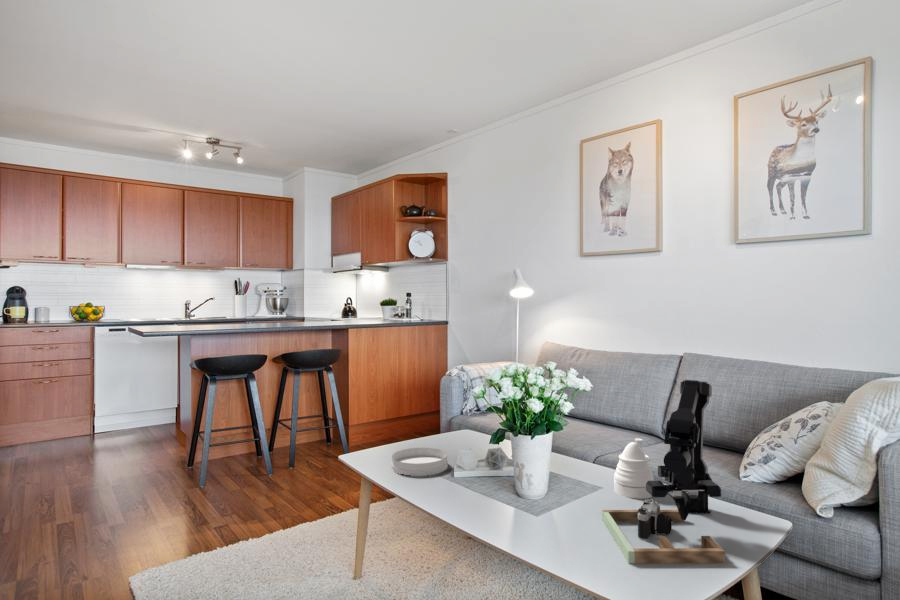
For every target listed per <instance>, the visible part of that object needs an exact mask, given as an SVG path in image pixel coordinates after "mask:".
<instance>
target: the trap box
mask: <svg viewBox="0 0 900 600" xmlns="http://www.w3.org/2000/svg"><path fill="white" fill-rule="evenodd" d="M660 510H661V511H660V514H663V515H664V516H665V515H667V516H669V517H671V520H672V523H685V522H686V520H682V519H681V517H680V514H679V511H678V509H660ZM602 511H603V512H609V514H610V515H611V517H612V518H613V520H614V521H615V523H638V509H602V510H601V512H602ZM602 517H603V516H602V515H601V518H602ZM700 536H701V537H700V539H701V547H700V548H694V547H693V548H692V547H691V548H690V547H689V548H686V547H683V548H681V547H679V548H675V546H674V545H673V544H672V543H671V542H670V540H669V539H668V537H666V535H659V536H658V548H656V547H655V548H648V547H646V548H641V547H640V548H633V550H634V553H635V563H634V564H725V563H726V561H725V560H726V558H725V557H726V555H725V553H726V551H725V550H724V549H723V548H722V547H721V546H720V545H719V544H718V543H717V541H715V540H714V539H713V538H712V537H711V536H710V535H700Z"/></svg>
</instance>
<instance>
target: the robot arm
mask: <svg viewBox="0 0 900 600" xmlns="http://www.w3.org/2000/svg"><path fill="white" fill-rule="evenodd" d="M679 385H680V386H679V387H680V388H679V390H680V391H679V394H680V398H679V401H678V407H677V409H676V410H675V411H673V412H671V414H670V417H669V420H667V421H666V424H665V425H666V427H665V434H664V440H663V443H664V445H669V447H670V448H669V450H668V451H667V452H666V454H665V455H664V457H663V464H664V465H658V466H657V476H658V478H664V480H665V481H667V482H668V483H669V484H664V483H663V482H662V481H661V480H654V481H648V482H647V483H646V491H647V492H648V493H649V494H650V495H651V496H652V497H653V498H665V497H666V496H667V495H668V496H669V497H670V498H671V499H672V500H673V501H674V503H675V505H676V508H677V510H678V511H679V514H680V517H681V519H682V520H685V521H686V520H687V518H688V517H689V516H688V515H689V514H711V513H712V512H711V510H709V497H711V498H719V497H720V498H721V497H722V489H721V486H720V485H718V483H716V482H715V481H714V480H713V479H712V477H711V474H710V473H709V467H708V466H707V464H706V462H705V459H703V457H704V456H703V453H704V452H703V451H704V450H703V449H704V448H703V447H704V445H703V444H704V416H705V415H704V411H705V410H706V407H708V405H709V404H710V398H712V395H713V394H712V393H713V388H712V385H711V384H710V383H708V382H707V381H702V380H701V381H700V380H694V379H685V380H682V381H680V384H679ZM670 483H671V484H670Z"/></svg>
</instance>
